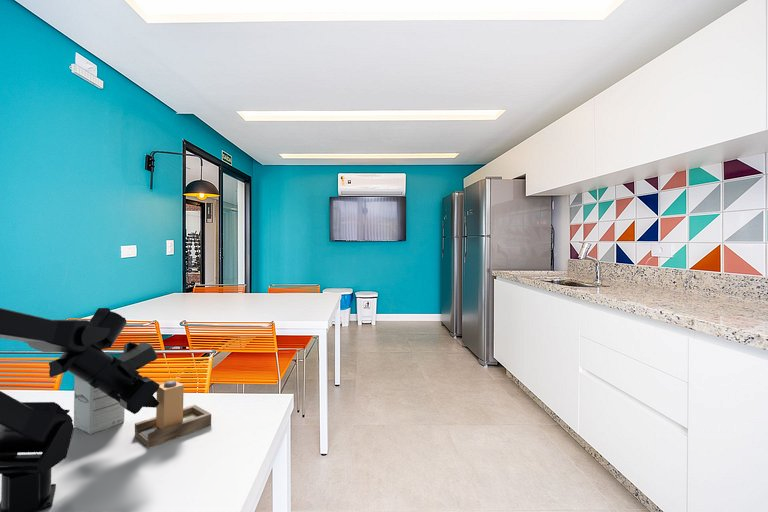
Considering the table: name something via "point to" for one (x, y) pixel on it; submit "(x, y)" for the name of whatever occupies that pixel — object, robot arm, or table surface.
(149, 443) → the box
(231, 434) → the table surface
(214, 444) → the table surface
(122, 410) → the supplement box
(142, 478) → the table surface
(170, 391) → the block
